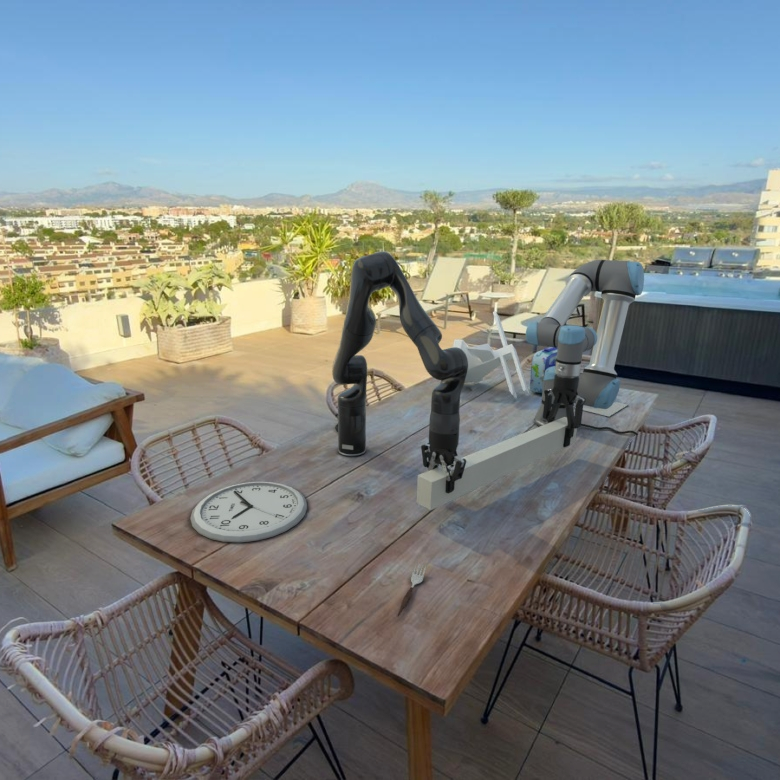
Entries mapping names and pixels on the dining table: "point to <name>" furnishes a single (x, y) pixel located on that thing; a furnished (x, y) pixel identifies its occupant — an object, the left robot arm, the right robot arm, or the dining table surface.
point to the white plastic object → (491, 360)
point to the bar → (493, 463)
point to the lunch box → (541, 367)
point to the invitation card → (606, 412)
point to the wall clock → (248, 512)
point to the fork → (415, 580)
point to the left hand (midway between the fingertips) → (441, 487)
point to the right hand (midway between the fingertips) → (558, 443)
